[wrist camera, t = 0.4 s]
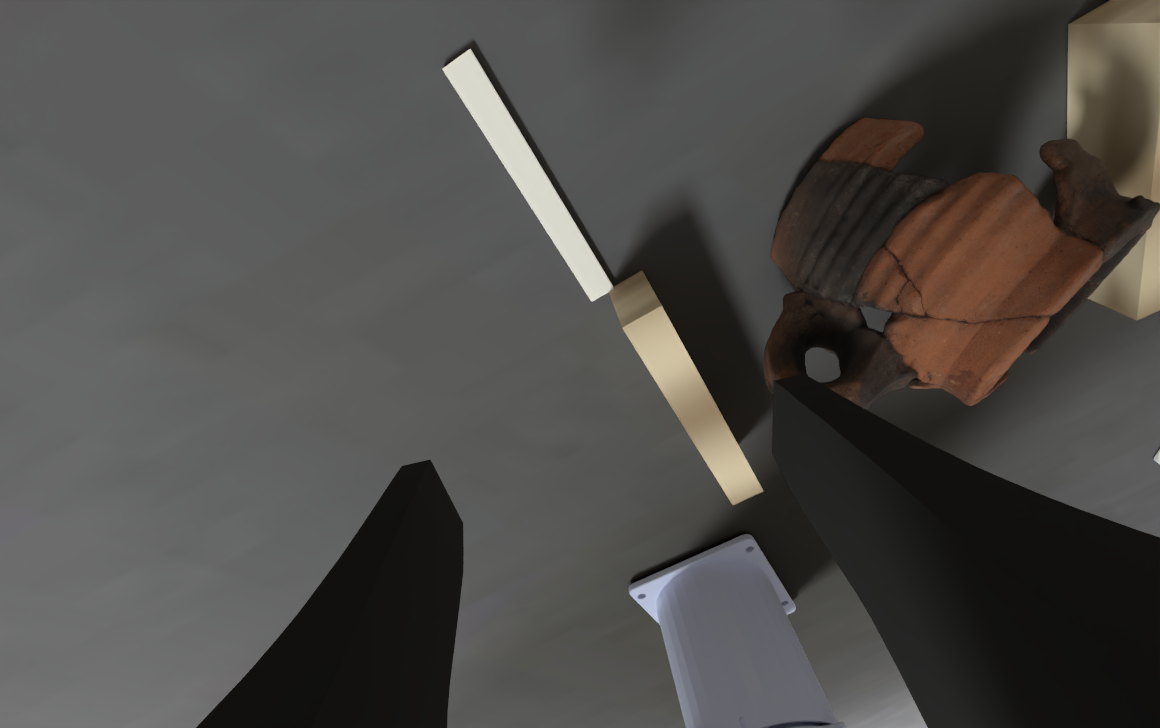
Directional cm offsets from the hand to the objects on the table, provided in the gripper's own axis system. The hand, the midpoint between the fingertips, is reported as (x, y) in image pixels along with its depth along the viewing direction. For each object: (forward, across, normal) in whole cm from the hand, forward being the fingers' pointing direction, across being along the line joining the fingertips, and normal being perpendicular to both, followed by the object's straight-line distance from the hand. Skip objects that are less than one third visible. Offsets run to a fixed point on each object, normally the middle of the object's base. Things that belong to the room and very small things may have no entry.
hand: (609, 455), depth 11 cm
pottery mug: (+10, -12, +2) cm, 16 cm away
